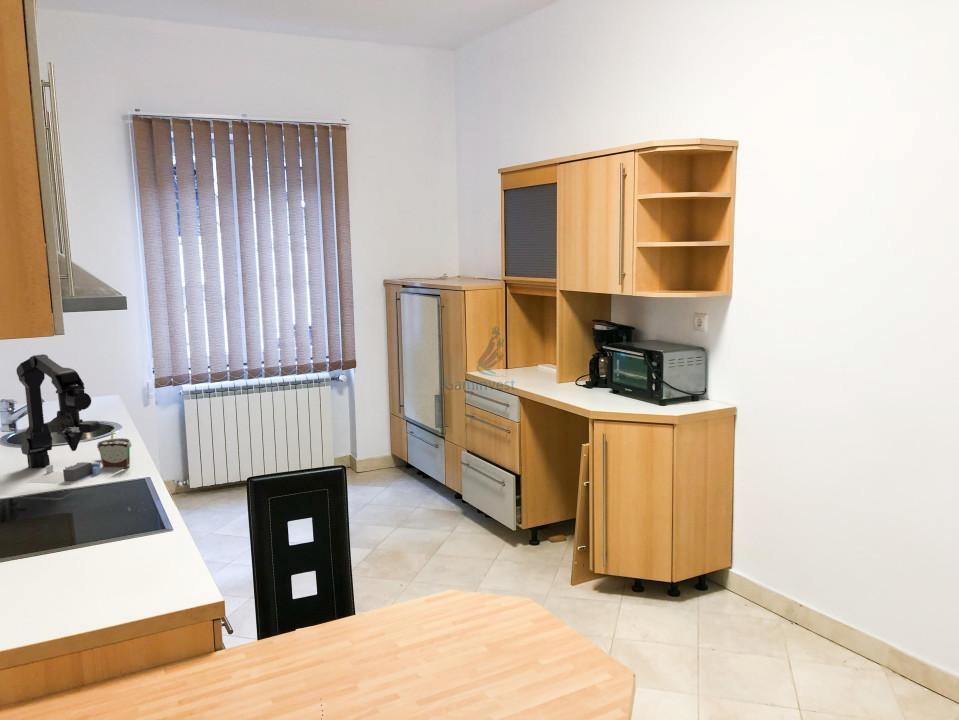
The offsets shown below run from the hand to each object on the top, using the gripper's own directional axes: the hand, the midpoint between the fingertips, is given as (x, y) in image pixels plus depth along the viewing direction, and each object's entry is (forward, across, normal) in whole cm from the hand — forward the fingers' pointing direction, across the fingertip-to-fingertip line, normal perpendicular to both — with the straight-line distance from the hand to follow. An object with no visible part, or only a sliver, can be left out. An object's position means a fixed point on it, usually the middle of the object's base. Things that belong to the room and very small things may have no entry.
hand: (73, 450), depth 267 cm
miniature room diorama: (+11, -6, 0) cm, 12 cm away
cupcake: (+11, -6, +26) cm, 29 cm away
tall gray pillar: (+10, 0, +1) cm, 10 cm away
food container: (+11, +4, +17) cm, 21 cm away
